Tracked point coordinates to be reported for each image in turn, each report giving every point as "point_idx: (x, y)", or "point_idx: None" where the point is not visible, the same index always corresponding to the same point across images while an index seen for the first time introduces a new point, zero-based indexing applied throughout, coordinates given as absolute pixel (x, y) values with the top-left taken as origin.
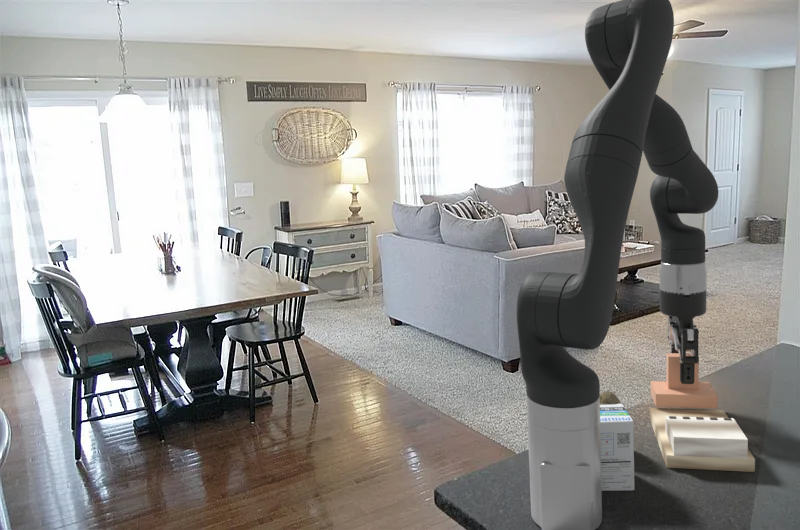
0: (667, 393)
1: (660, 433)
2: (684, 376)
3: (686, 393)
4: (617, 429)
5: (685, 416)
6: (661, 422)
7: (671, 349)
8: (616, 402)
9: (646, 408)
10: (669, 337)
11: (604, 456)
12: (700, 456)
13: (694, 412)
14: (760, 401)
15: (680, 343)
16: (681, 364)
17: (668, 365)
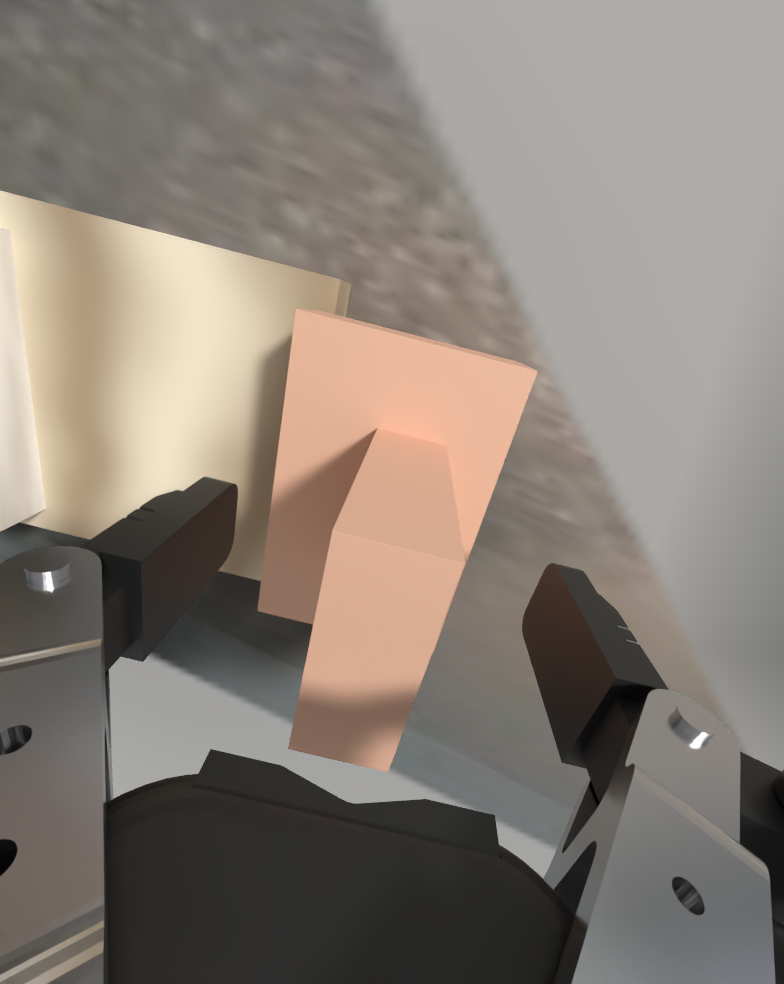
0: (298, 389)
1: (4, 201)
2: (137, 509)
3: (290, 492)
4: None
5: (224, 419)
6: (147, 267)
7: (627, 666)
8: None
9: (476, 319)
10: (633, 806)
11: None
12: None
13: (268, 476)
14: (444, 726)
15: (125, 794)
16: (108, 552)
17: (352, 488)
